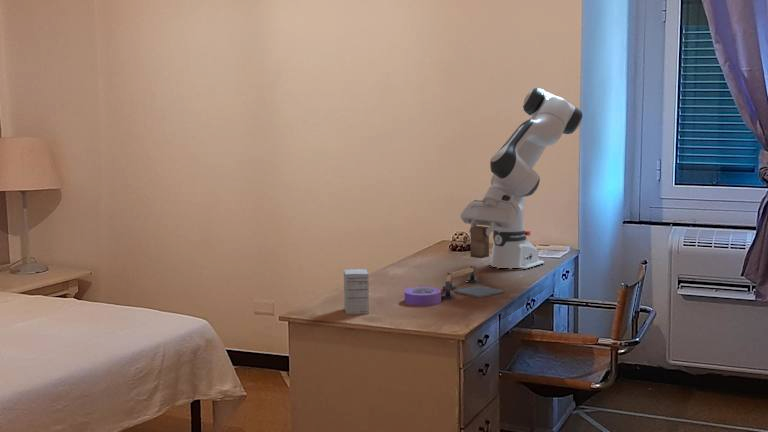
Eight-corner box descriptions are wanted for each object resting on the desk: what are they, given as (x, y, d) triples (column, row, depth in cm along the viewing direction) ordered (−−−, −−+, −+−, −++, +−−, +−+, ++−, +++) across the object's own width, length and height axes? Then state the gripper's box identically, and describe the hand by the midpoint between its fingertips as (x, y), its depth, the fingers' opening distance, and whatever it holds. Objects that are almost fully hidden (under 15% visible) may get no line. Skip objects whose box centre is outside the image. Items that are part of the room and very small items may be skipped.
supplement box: (344, 308, 284) (343, 269, 282) (367, 308, 284) (367, 268, 283) (345, 314, 276) (344, 273, 275) (369, 313, 277) (368, 273, 275)
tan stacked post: (478, 255, 306) (478, 225, 305) (488, 256, 303) (489, 227, 302) (470, 256, 303) (470, 227, 302) (481, 258, 300) (481, 228, 299)
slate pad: (478, 287, 313) (478, 285, 313) (504, 292, 304) (504, 291, 304) (453, 292, 306) (453, 290, 305) (479, 298, 296) (479, 296, 296)
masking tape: (429, 308, 285) (429, 296, 284) (397, 303, 291) (397, 292, 290) (447, 300, 294) (447, 289, 294) (415, 296, 301) (415, 285, 300)
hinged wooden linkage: (458, 279, 327) (458, 264, 326) (478, 280, 324) (478, 265, 323) (429, 297, 298) (429, 281, 297) (451, 299, 295) (451, 283, 294)
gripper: (467, 194, 313) (450, 225, 307) (517, 198, 299) (499, 230, 293) (475, 205, 316) (458, 236, 311) (524, 210, 303) (507, 242, 297)
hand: (478, 233), depth 302 cm, fingers closed on tan stacked post, 4 cm apart
